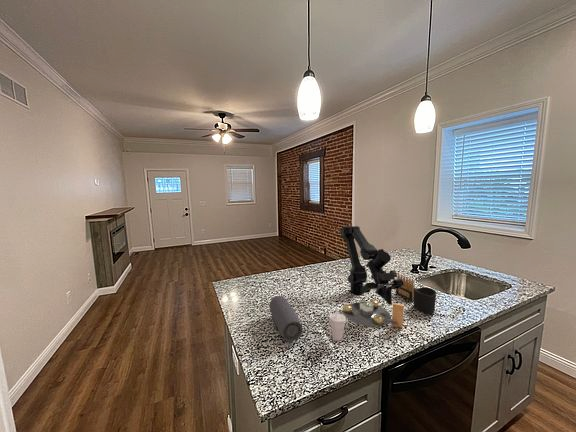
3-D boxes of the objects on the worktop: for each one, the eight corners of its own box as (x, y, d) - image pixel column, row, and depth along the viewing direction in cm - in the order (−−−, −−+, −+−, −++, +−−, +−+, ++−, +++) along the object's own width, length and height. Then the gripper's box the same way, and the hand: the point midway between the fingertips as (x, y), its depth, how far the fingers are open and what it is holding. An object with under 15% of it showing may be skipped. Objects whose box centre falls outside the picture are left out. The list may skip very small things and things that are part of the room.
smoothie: (327, 335, 99) (327, 302, 97) (342, 334, 99) (343, 302, 98) (331, 346, 93) (331, 311, 91) (348, 345, 93) (348, 310, 91)
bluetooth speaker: (304, 342, 95) (304, 318, 94) (281, 347, 93) (280, 322, 91) (287, 313, 117) (287, 293, 116) (268, 316, 114) (268, 296, 113)
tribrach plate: (333, 313, 116) (333, 300, 115) (362, 300, 128) (362, 289, 127) (371, 334, 99) (371, 320, 98) (400, 318, 111) (401, 305, 110)
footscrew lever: (372, 323, 104) (373, 302, 103) (373, 319, 108) (374, 298, 107) (402, 330, 100) (403, 307, 98) (402, 325, 103) (403, 303, 102)
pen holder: (434, 317, 111) (436, 296, 110) (411, 312, 116) (412, 292, 115) (435, 308, 119) (436, 289, 118) (413, 304, 124) (414, 285, 123)
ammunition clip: (414, 301, 127) (415, 278, 126) (411, 301, 126) (413, 279, 125) (397, 293, 137) (398, 272, 135) (395, 293, 136) (396, 272, 135)
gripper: (366, 266, 109) (380, 301, 100) (402, 262, 113) (419, 295, 104) (357, 276, 118) (368, 309, 109) (391, 272, 122) (405, 304, 113)
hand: (390, 304), depth 109 cm, fingers closed
